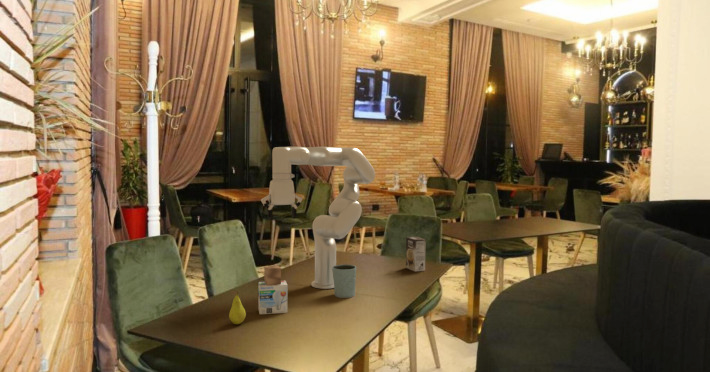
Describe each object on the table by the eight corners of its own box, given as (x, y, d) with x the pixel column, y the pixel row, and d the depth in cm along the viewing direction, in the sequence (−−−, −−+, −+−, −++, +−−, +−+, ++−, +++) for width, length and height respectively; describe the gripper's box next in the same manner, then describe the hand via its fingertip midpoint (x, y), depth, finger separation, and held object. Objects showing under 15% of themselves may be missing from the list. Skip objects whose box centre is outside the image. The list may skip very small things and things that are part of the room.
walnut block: (277, 280, 197) (277, 265, 196) (281, 284, 192) (280, 267, 192) (264, 282, 194) (264, 266, 194) (267, 285, 190) (267, 269, 189)
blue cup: (353, 299, 210) (353, 270, 209) (329, 297, 212) (329, 268, 211) (358, 292, 220) (358, 264, 219) (335, 290, 222) (335, 263, 221)
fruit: (238, 319, 184) (238, 287, 183) (249, 323, 180) (249, 289, 179) (225, 324, 179) (225, 290, 178) (236, 327, 176) (235, 293, 175)
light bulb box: (259, 315, 189) (259, 286, 189) (257, 309, 196) (257, 281, 195) (288, 312, 192) (288, 284, 191) (285, 307, 199) (285, 279, 198)
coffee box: (405, 267, 264) (405, 236, 263) (416, 266, 267) (416, 236, 266) (414, 271, 256) (415, 239, 255) (425, 270, 259) (426, 238, 258)
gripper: (299, 176, 217) (299, 216, 219) (258, 177, 210) (259, 218, 212) (304, 177, 210) (305, 218, 212) (263, 178, 203) (263, 221, 205)
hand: (282, 218), depth 212 cm, fingers open, 9 cm apart
